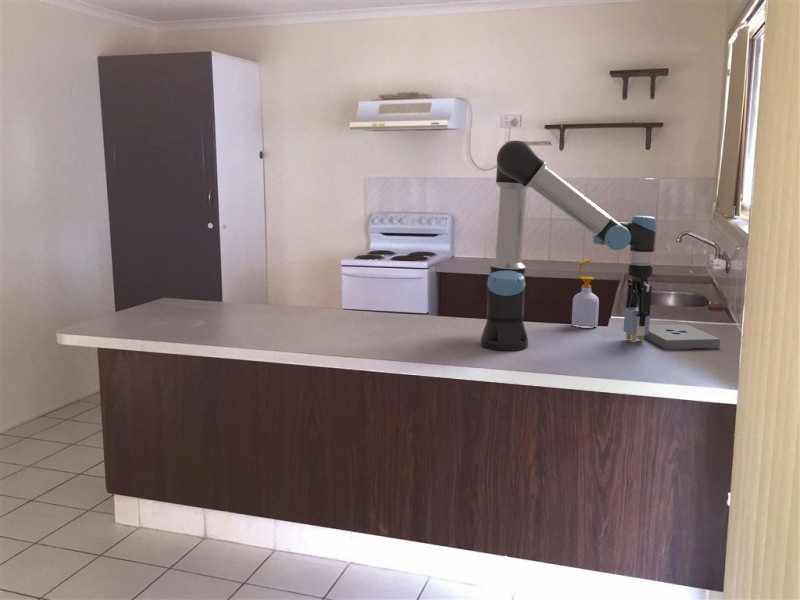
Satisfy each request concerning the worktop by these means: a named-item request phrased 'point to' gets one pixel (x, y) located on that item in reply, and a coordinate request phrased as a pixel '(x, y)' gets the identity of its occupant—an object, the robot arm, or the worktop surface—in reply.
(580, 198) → the robot arm
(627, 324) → the plug
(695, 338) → the socket plate
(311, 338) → the worktop surface
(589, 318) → the soap bottle
